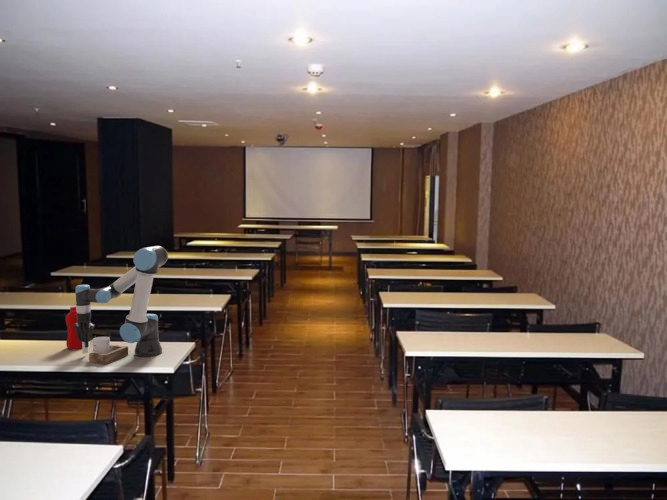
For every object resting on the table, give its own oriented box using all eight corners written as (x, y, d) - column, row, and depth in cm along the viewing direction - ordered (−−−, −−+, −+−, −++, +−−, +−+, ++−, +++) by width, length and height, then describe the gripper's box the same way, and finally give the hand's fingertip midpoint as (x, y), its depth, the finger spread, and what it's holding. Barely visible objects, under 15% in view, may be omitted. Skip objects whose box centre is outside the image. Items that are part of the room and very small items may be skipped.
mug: (113, 356, 332) (112, 337, 331) (102, 360, 324) (101, 341, 323) (97, 354, 337) (96, 335, 335) (85, 358, 328) (84, 339, 327)
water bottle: (79, 344, 358) (77, 304, 355) (86, 347, 350) (84, 306, 348) (63, 347, 352) (61, 306, 349) (70, 350, 344) (68, 309, 341)
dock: (128, 354, 336) (127, 346, 335) (106, 364, 318) (105, 355, 317) (112, 353, 339) (111, 344, 338) (89, 362, 321) (89, 353, 320)
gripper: (97, 311, 332) (99, 352, 335) (78, 310, 336) (80, 350, 338) (88, 314, 325) (90, 355, 327) (69, 312, 329) (71, 353, 331)
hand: (85, 352), depth 333 cm, fingers closed
